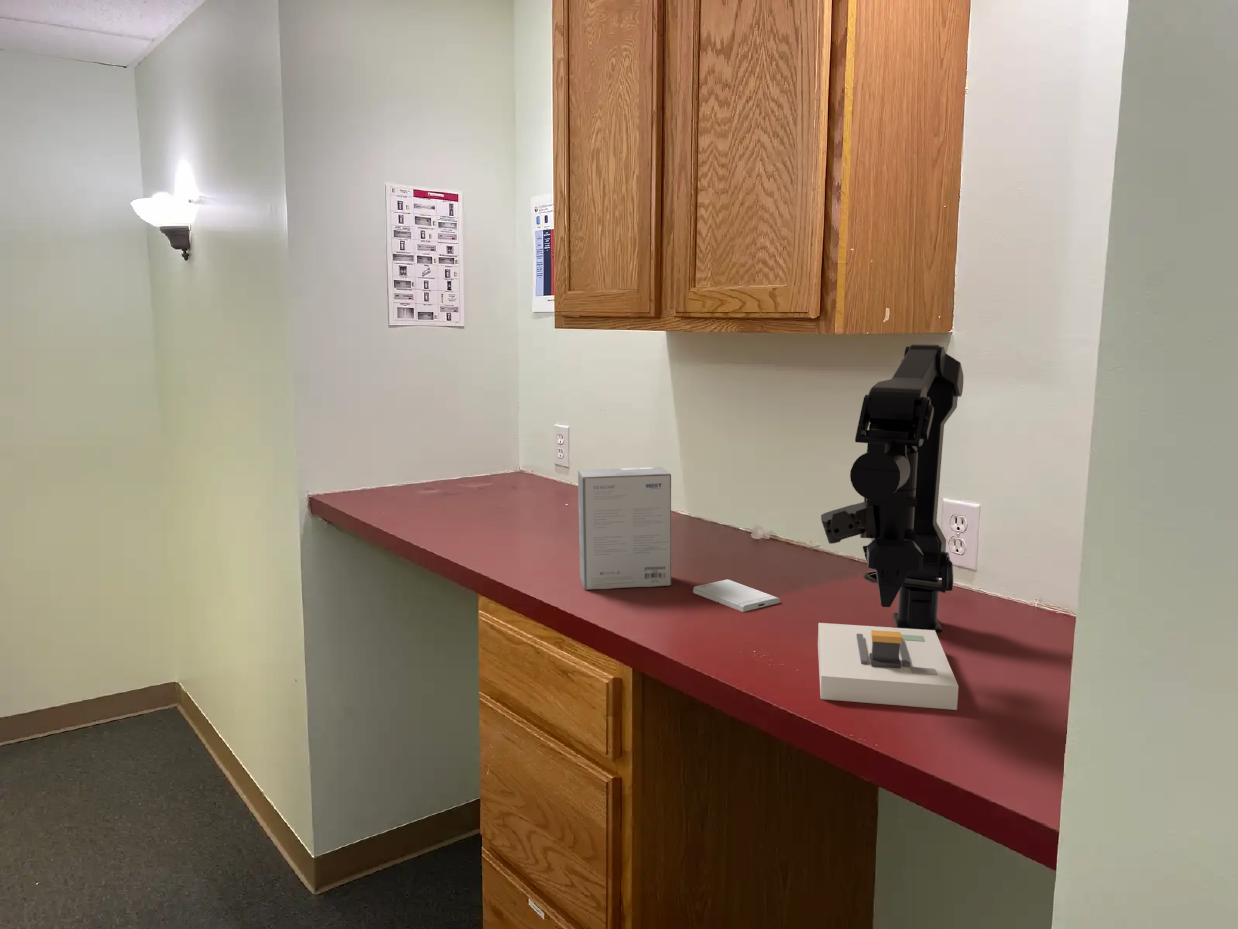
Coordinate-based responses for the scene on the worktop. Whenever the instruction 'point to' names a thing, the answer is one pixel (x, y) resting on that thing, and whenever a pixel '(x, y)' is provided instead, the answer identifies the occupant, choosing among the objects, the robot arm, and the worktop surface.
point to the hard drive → (735, 595)
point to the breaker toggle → (885, 649)
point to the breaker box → (884, 668)
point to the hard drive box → (624, 527)
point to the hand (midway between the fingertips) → (885, 606)
